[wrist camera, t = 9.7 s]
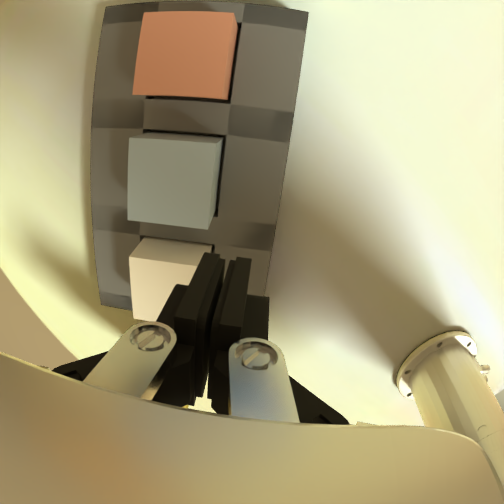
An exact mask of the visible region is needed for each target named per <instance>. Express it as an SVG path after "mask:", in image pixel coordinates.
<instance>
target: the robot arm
mask: <svg viewBox="0 0 504 504" xmlns="http://www.w3.org/2000/svg"><path fill="white" fill-rule="evenodd" d="M251 262H252V259H251V258H244V257H236V260H230V261H229V265H228V268H227V272H226V275H225V278H224V271H225V259H222V258H220V254H215V253H208V252H204V254H203V256H202V258H201V260H200V262H199V264H198V266H197V268H196V271H195V273H194V275H193V277H192V279H191V281H190V283H189V285H182V284H176V285H175V286H174V288H173V290H172V292H171V294H170V296H169V297H168V299H167V301H166V303H165V305H164V307H163V309H162V311H161V313H160V314H159V316H158V318H157V320H156V322H154V321H146V322H141V323H138V324H135V325H133V326H132V327H130V328H129V329H128V330H127V331H126V332H125V333H124V334H123V335H122V337H121V338H120V339H119V340H118V341H117V342H116V343H115V345H114V346H113V347H112V348H111V349H110V350H109V351H107V352H104V353H101V354H97V355H94V356H91V357H88V358H84V359H81V360H78V361H75V362H71V363H68V364H65V365H61V366H59V367H57V368H54V369H53V370H52V371H50V370H49V368H48V367H45V366H38V365H34V364H31V363H29V362H26V361H24V360H21V359H19V358H16V357H13V356H10V355H8V354H6V353H3V352H0V504H504V412H503V410H502V408H501V407H500V405H499V403H498V401H497V399H496V398H495V396H494V394H493V392H492V391H491V389H490V387H489V385H488V384H487V376H486V375H482V374H488V373H489V371H490V367H489V365H481V366H480V365H479V363H478V362H477V360H476V359H475V356H476V350H477V349H476V344H475V342H474V340H473V339H472V337H471V336H470V335H469V334H467V333H465V332H462V331H452V332H446V333H443V334H440V335H438V336H436V337H434V338H432V339H430V340H428V341H427V342H425V343H423V344H422V345H421V346H419V347H418V348H417V349H416V350H415V351H413V352H412V353H411V354H410V355H409V356H408V358H407V359H406V360H405V361H404V363H403V364H402V366H401V368H400V369H399V372H398V374H397V380H396V382H397V387H398V389H399V392H400V393H401V394H402V396H404V397H405V398H408V399H412V400H415V402H416V404H417V407H418V409H419V412H420V414H421V417H422V420H423V422H424V425H425V427H424V426H407V425H374V424H368V423H363V422H357V424H356V425H352V424H349V422H348V421H347V420H346V419H345V418H344V417H343V416H342V415H341V414H340V413H338V412H337V411H335V410H334V409H333V408H331V407H330V406H329V405H327V404H326V403H325V402H323V401H322V400H320V399H319V398H318V397H316V396H315V395H314V394H312V393H311V392H310V391H309V390H307V389H306V388H305V387H303V386H302V385H301V384H299V383H298V382H297V381H295V380H294V379H293V378H292V377H290V376H289V375H288V371H287V367H286V363H285V359H284V355H283V353H282V351H281V349H280V348H279V347H278V346H277V345H275V344H273V343H272V342H270V341H268V321H269V297H264V296H257V295H249V294H247V292H248V284H249V277H250V269H251ZM208 372H209V374H208ZM207 376H208V393H207V398H208V399H212V403H211V407H212V408H213V410H214V411H215V412H216V413H211V412H205V411H199V410H194V409H188V408H183V406H185V405H191V406H194V404H195V400H196V397H203V393H204V389H205V385H206V380H207Z"/></svg>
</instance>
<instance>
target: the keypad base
mask: <svg viewBox="0 0 504 504" xmlns="http://www.w3.org/2000/svg"><path fill="white" fill-rule="evenodd" d="M165 11H208V12H229V13H234V15H235V19H236V22H237V26H238V33H237V40H236V46H235V53H234V60H233V67H232V74H231V82H230V89H229V97H228V100H223V99H211V98H197V97H180V96H151V95H132V94H133V84H134V75H135V67H136V59H137V52H138V45H139V38H140V32H141V26H142V20H143V15H144V13H145V12H165ZM308 13H309V12H305V11H300V10H294V9H288V8H281V7H274V6H266V5H258V4H248V3H235V2H218V1H164V2H147V3H134V4H125V5H116V6H109V7H106V9H105V14H104V19H103V25H102V31H101V37H100V43H99V50H98V57H97V65H96V74H95V84H94V95H93V108H92V126H91V207H92V225H93V239H94V250H95V261H96V270H97V278H98V286H99V294H100V301H101V305H105V306H110V307H115V308H120V309H126V310H131V311H133V308H132V296H131V283H130V268H129V256H130V255H131V253H132V252H133V251H134V250H135V248H136V247H137V246H138V244H139V243H140V242H141V241H142V239H143V238H144V237H145V236H152V237H160V238H168V239H176V240H184V241H192V242H200V243H208V244H213V246H212V253H215V254H220V258H222V259H225V271H224V278H225V275H226V272H227V268H228V265H229V261H230V260H236V257H244V258H251V259H252V262H251V269H250V277H249V284H248V292H247V294H249V295H257V296H264V292H265V286H266V280H267V275H268V269H269V263H270V258H271V252H272V246H273V240H274V234H275V229H276V223H277V217H278V211H279V205H280V199H281V193H282V187H283V180H284V174H285V168H286V162H287V156H288V149H289V143H290V137H291V130H292V124H293V117H294V111H295V104H296V97H297V91H298V84H299V77H300V70H301V64H302V57H303V50H304V42H305V35H306V28H307V21H308ZM147 132H162V133H178V134H192V135H203V136H214V137H223V146H222V155H221V164H220V173H219V183H218V192H217V203H216V211H215V213H214V215H213V218H212V220H211V223H210V225H209V228H208V230H207V229H199V228H190V227H182V226H174V225H165V224H157V223H148V222H140V221H131V220H128V153H129V138H130V137H134V136H137V135H140V134H144V133H147Z"/></svg>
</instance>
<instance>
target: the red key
mask: <svg viewBox="0 0 504 504" xmlns="http://www.w3.org/2000/svg"><path fill="white" fill-rule="evenodd" d="M237 33H238V26H237V22H236V19H235V15H234V13H229V12H208V11H165V12H145V13H144V15H143V20H142V26H141V32H140V38H139V45H138V52H137V59H136V67H135V75H134V84H133V94H132V95H151V96H180V97H197V98H211V99H223V100H228V97H229V89H230V82H231V74H232V67H233V60H234V53H235V46H236V40H237Z"/></svg>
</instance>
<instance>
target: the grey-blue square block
mask: <svg viewBox="0 0 504 504" xmlns="http://www.w3.org/2000/svg"><path fill="white" fill-rule="evenodd" d="M222 146H223V137H214V136H203V135H192V134H178V133H162V132H147V133H144V134H140V135H137V136H134V137H130V138H129V153H128V220H131V221H140V222H148V223H157V224H165V225H174V226H182V227H190V228H199V229H207V230H208V228H209V225H210V223H211V220H212V218H213V215H214V213H215V211H216V203H217V192H218V183H219V173H220V164H221V155H222Z"/></svg>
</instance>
